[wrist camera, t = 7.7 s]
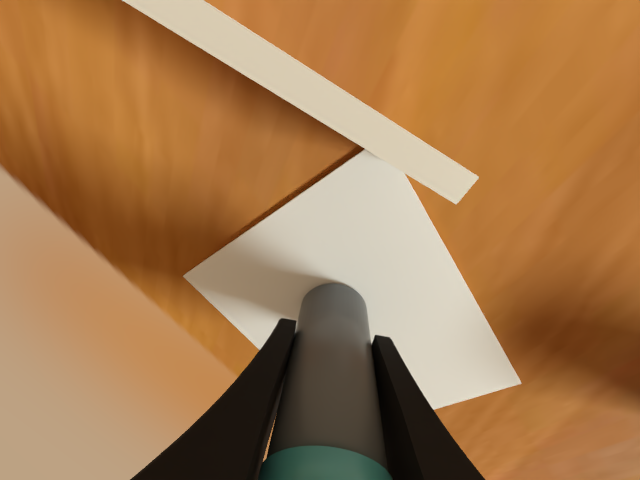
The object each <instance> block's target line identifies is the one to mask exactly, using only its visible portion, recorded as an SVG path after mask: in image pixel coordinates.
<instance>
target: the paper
mask: <svg viewBox="0 0 640 480" xmlns="http://www.w3.org/2000/svg"><path fill="white" fill-rule="evenodd" d="M183 277H184V278H185V279H186V280H187V281H188V282H189V283H190V284H191V285H192V286H194V287H195V288H196V289H197V290H198V291H199V292H200V293H201V294H202V295H203V296H204V297H205V298H206V299H207V300H208V301H209V302H210V303H211V304H212V305H213V306H214V307H215V308H216V309H217V310H219V311H220V312H221V313H222V314H223V315H224V316H225V317H226V318H227V319H228V320H229V321H230V322H231V323H232V324H233V325H234V326H235V327H236V328H237V329H238V330H239V331H240V332H241V333H243V334H244V335H245V336H246V337H247V338H248V339H249V340H250V341H251V342H252V343H253V344H254V345H255V346H256V347H257V348H258V349H259V350H260V349H261V348H262V346H263V345H264V344H265V342H266V341H267V339H268V338H269V336H270V335H271V333H272V332H273V330H274V328H275V327H276V325H277V323H278V321H279V319H281V318H285V319H291V320H296V321H298V317H299V312H300V308H301V303H302V300H303V298H304V297H305V295H306V294H307V293H308V292H309V291H310V290H312V289H313V288H315V287H317V286H320V285H323V284H330V283H335V284H342V285H345V286H348V287H350V288H352V289H354V290H355V291H357V292H358V293H359V294H360V295H361V296H362V298H363V299H364V301H365V303H366V307H367V314H368V322H369V330H370V337H371V345H372V342H373V340H374V337H375V335H380V336H385V337H390V338H391V339H392V341H393V343H394V345H395V347H396V348H397V350H398V352H399V354H400V356H401V358H402V359H403V361H404V363H405V365H406V366H407V368H408V370H409V372H410V373H411V375H412V377H413V378H414V380H415V382H416V383H417V385H418V387H419V388H420V390H421V391H422V393H423V395H424V396H425V398H426V399H427V401H428V403H429V404H430V406H431V407H432V409H433V410H434V409H437V408H441V407H444V406H448V405H451V404H454V403H458V402H461V401H464V400H468V399H471V398H475V397H478V396H481V395H485V394H488V393H491V392H495V391H498V390H501V389H505V388H508V387H512V386H515V385H518V384H522V383H521V381H520V379H519V377H518V376H517V374H516V372H515V370H514V369H513V367H512V365H511V363H510V361H509V360H508V358H507V356H506V354H505V352H504V351H503V349H502V347H501V345H500V343H499V342H498V340H497V338H496V336H495V334H494V333H493V331H492V329H491V327H490V326H489V324H488V322H487V320H486V318H485V317H484V315H483V313H482V311H481V309H480V308H479V306H478V304H477V302H476V300H475V299H474V297H473V295H472V293H471V291H470V290H469V288H468V286H467V284H466V283H465V281H464V279H463V277H462V275H461V274H460V272H459V270H458V268H457V266H456V265H455V263H454V261H453V259H452V257H451V256H450V254H449V252H448V250H447V248H446V247H445V245H444V243H443V241H442V240H441V238H440V236H439V234H438V232H437V231H436V229H435V227H434V225H433V223H432V222H431V220H430V218H429V216H428V214H427V213H426V211H425V209H424V207H423V205H422V204H421V202H420V200H419V198H418V197H417V195H416V193H415V191H414V189H413V188H412V186H411V184H410V182H409V180H408V179H407V177H406V175H405V173H404V172H402V171H400V170H399V169H397V168H396V167H394V166H392V165H391V164H389V163H387V162H386V161H384V160H383V159H381V158H379V157H378V156H376V155H374V154H373V153H371V152H369V151H368V150H366V149H364V150H362V151H361V152H360V153H358V154H357V155H355V156H354V157H352V158H351V159H349V160H348V161H347V162H345V163H344V164H342V165H341V166H339V167H338V168H337V169H335V170H334V171H332V172H331V173H329V174H328V175H326V176H325V177H324V178H322V179H321V180H319V181H318V182H316V183H315V184H314V185H312V186H311V187H309V188H308V189H306V190H305V191H303V192H302V193H301V194H299V195H298V196H296V197H295V198H293V199H292V200H291V201H289V202H288V203H286V204H285V205H283V206H282V207H280V208H279V209H278V210H276V211H275V212H273V213H272V214H270V215H269V216H268V217H266V218H265V219H263V220H262V221H260V222H259V223H257V224H256V225H255V226H253V227H252V228H250V229H249V230H247V231H246V232H245V233H243V234H242V235H240V236H239V237H237V238H236V239H234V240H233V241H232V242H230V243H229V244H227V245H226V246H224V247H223V248H222V249H220V250H219V251H217V252H216V253H214V254H213V255H212V256H210V257H209V258H207V259H206V260H204V261H203V262H201V263H200V264H199V265H197V266H196V267H194V268H193V269H191V270H190V271H189V272H187V273H186V274H184V275H183ZM296 325H297V323H296ZM295 330H296V329H295Z"/></svg>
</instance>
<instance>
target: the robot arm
mask: <svg viewBox="0 0 640 480" xmlns="http://www.w3.org/2000/svg"><path fill="white" fill-rule="evenodd" d="M296 323H297V321H296V320H291V319H285V318H281V319H279V321H278V323H277V325H276V327H275V328H274V330H273V332H272V333H271V335H270V336H269V338H268V339H267V341H266V342H265V344H264V345H263V346H262V348H261V349H260V351H259V352H258V353H257V355H256V356H255V357H254V359H253V360H252V361H251V362H250V364H249V365H248V366H247V367H246V368H245V370H244V371H243V372H242V373H241V374H240V376H239V377H238V378H237V379H236V380H235V382H234V383H233V384H232V385H231V386H230V387H229V388H228V389H227V391H226V392H225V393H224V394H223V395H222V396H221V397H220V398H219V399H218V400H217V401H216V402H215V403H214V404H213V405H212V406H211V407H210V408H209V409H208V410H207V411H206V412H205V413H204V414H203V415H202V416H201V417H200V418H199V419H198V420H197V421H196V422H195V423H194V424H193V425H192V426H191V427H190V428H189V429H188V430H187V431H186V432H185V433H184V434H182V435H181V436H180V437H179V438H178V439H177V440H176V441H175V442H174V443H172V444H171V445H170V446H169V447H168V448H167V449H166V450H164V451H163V452H162V453H161V454H160V455H159V456H158V457H156V458H155V459H154V460H153V461H152V462H151V463H149V464H148V465H147V466H146V467H145V468H144V469H142V470H141V471H140V472H139V473H138V474H137V475H135V476H134V477H133V478H132V479H130V480H258V476H259V471H260V467H261V465H262V463H263V458H264V455H265V451H266V447H267V443H268V440H269V437H270V433H271V430H272V427H273V423H274V420H275V417H276V413H277V410H278V405H279V401H280V396H281V392H282V387H283V383H284V379H285V374H286V370H287V365H288V361H289V357H290V353H291V348H292V344H293V340H294V335H295V329H296ZM372 352H373V360H374V368H375V375H376V383H377V390H378V398H379V406H380V413H381V421H382V429H383V436H384V444H385V451H386V459H387V467H388V472H389V474H390V475H391V477H392V479H393V480H485V479H484V478H483V476H482V475H481V474H480V473H479V472H478V470H477V469H476V468H475V466H474V465H473V464H472V463H471V461H470V460H469V459H468V458H467V456H466V455H465V454H464V452H463V451H462V450H461V448H460V447H459V446H458V444H457V443H456V442H455V440H454V439H453V438H452V436H451V435H450V433H449V432H448V431H447V429H446V428H445V426H444V425H443V423H442V422H441V421H440V419H439V418H438V416H437V415H436V413H435V412H434V410H433V409H432V407H431V406H430V404H429V403H428V401H427V399H426V398H425V396H424V395H423V393H422V391H421V390H420V388H419V387H418V385H417V383H416V382H415V380H414V378H413V377H412V375H411V373H410V372H409V370H408V368H407V366H406V365H405V363H404V361H403V359H402V358H401V356H400V354H399V352H398V350H397V348H396V347H395V345H394V343H393V341H392V339H391V338H390V337H385V336H380V335H375V337H374V340H373V342H372Z"/></svg>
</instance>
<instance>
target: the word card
mask: <svg viewBox="0 0 640 480" xmlns="http://www.w3.org/2000/svg"><path fill="white" fill-rule="evenodd" d="M122 1H124V2H126V3H127V4H129V5H131V6H132V7H134V8H135V9H137V10H139V11H140V12H142V13H144V14H145V15H147V16H149V17H150V18H152V19H153V20H155V21H157V22H158V23H160V24H162V25H163V26H165V27H167V28H168V29H170V30H171V31H173V32H175V33H176V34H178V35H180V36H181V37H183V38H185V39H186V40H188V41H189V42H191V43H193V44H194V45H196V46H198V47H199V48H201V49H203V50H204V51H206V52H207V53H209V54H211V55H212V56H214V57H216V58H217V59H219V60H221V61H222V62H224V63H225V64H227V65H229V66H230V67H232V68H234V69H235V70H237V71H239V72H240V73H242V74H243V75H245V76H247V77H248V78H250V79H252V80H253V81H255V82H257V83H258V84H260V85H261V86H263V87H265V88H266V89H268V90H270V91H271V92H273V93H275V94H276V95H278V96H279V97H281V98H283V99H284V100H286V101H288V102H289V103H291V104H293V105H294V106H296V107H297V108H299V109H301V110H302V111H304V112H306V113H307V114H309V115H311V116H312V117H314V118H315V119H317V120H319V121H320V122H322V123H324V124H325V125H327V126H329V127H330V128H332V129H333V130H335V131H337V132H338V133H340V134H342V135H343V136H345V137H347V138H348V139H350V140H351V141H353V142H355V143H356V144H358V145H360V146H361V147H363V148H365V149H366V150H368V151H369V152H371V153H373V154H374V155H376V156H378V157H379V158H381V159H383V160H384V161H386V162H387V163H389V164H391V165H392V166H394V167H396V168H397V169H399V170H400V171H402V172H404V173H405V174H407V175H409V176H410V177H412V178H414V179H415V180H417V181H418V182H420V183H422V184H423V185H425V186H427V187H428V188H430V189H432V190H433V191H435V192H436V193H438V194H440V195H441V196H443V197H445V198H446V199H448V200H450V201H451V202H453V203H454V204H457V203H458V202H459V201H460V200H461V198H462V197H463V196H464V195H465V194H466V192H467V191H468V190H469V189H470V188H471V187H472V185H473V184H474V183H475V182H476V181H477V179H478V178H479V177H478V176H477V175H475V174H473V173H472V172H470V171H469V170H467V169H466V168H464V167H463V166H461V165H459V164H458V163H456V162H455V161H453V160H452V159H450V158H449V157H447V156H445V155H444V154H442V153H441V152H439V151H438V150H436V149H435V148H433V147H431V146H430V145H428V144H427V143H425V142H424V141H422V140H421V139H419V138H417V137H416V136H414V135H413V134H411V133H410V132H408V131H406V130H405V129H403V128H402V127H400V126H399V125H397V124H396V123H394V122H392V121H391V120H389V119H388V118H386V117H385V116H383V115H382V114H380V113H378V112H377V111H375V110H374V109H372V108H371V107H369V106H368V105H366V104H364V103H363V102H361V101H360V100H358V99H357V98H355V97H353V96H352V95H350V94H349V93H347V92H346V91H344V90H343V89H341V88H339V87H338V86H336V85H335V84H333V83H332V82H330V81H329V80H327V79H325V78H324V77H322V76H321V75H319V74H318V73H316V72H315V71H313V70H311V69H310V68H308V67H307V66H305V65H304V64H302V63H301V62H299V61H297V60H296V59H294V58H293V57H291V56H290V55H288V54H286V53H285V52H283V51H282V50H280V49H279V48H277V47H276V46H274V45H272V44H271V43H269V42H268V41H266V40H265V39H263V38H262V37H260V36H258V35H257V34H255V33H254V32H252V31H251V30H249V29H248V28H246V27H244V26H243V25H241V24H240V23H238V22H237V21H235V20H233V19H232V18H230V17H229V16H227V15H226V14H224V13H223V12H221V11H219V10H218V9H216V8H215V7H213V6H212V5H210V4H209V3H207V2H205V1H204V0H122Z"/></svg>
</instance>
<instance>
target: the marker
mask: <svg viewBox="0 0 640 480" xmlns="http://www.w3.org/2000/svg"><path fill="white" fill-rule="evenodd" d="M258 480H393V479H392V477H391V475H390V474H389V472H388V467H387V459H386V451H385V444H384V436H383V429H382V421H381V413H380V406H379V398H378V390H377V383H376V375H375V368H374V360H373V352H372V345H371V337H370V330H369V322H368V314H367V307H366V303H365V301H364V299H363V298H362V296H361V295H360V294H359V293H358V292H357V291H355V290H354V289H352V288H350V287H348V286H345V285H342V284H335V283H330V284H323V285H320V286H317V287H315V288H313V289H312V290H310V291H309V292H308V293H307V294H306V295H305V297H304V298H303V300H302V303H301V308H300V312H299V317H298V321H297V325H296V330H295V335H294V340H293V344H292V348H291V353H290V357H289V361H288V365H287V370H286V374H285V379H284V383H283V387H282V392H281V396H280V401H279V405H278V410H277V414H276V418H275V423H274V427H273V432H272V436H271V441H270V445H269V449H268V454H267V458H266V460H265V461H264V462H263V463H262V465H261V467H260V471H259V476H258Z"/></svg>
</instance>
